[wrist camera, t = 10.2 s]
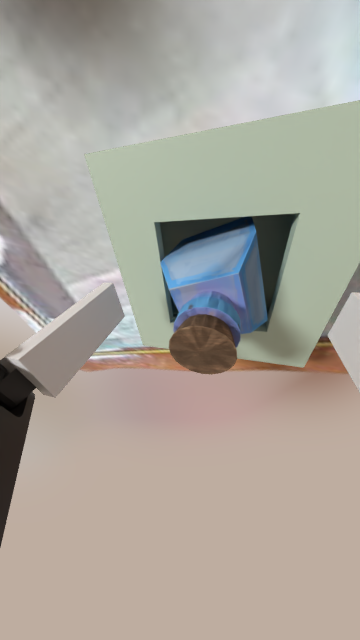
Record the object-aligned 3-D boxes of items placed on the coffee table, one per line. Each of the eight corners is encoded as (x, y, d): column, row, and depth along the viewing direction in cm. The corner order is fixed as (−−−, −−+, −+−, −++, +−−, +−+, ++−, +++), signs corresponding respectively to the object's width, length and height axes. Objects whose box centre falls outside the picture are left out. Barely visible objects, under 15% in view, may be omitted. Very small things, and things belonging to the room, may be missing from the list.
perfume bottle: (201, 294, 20) (168, 389, 11) (182, 239, 17) (114, 309, 8) (260, 282, 17) (282, 393, 8) (250, 214, 14) (269, 274, 5)
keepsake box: (131, 162, 15) (84, 154, 10) (364, 123, 11) (456, 81, 6) (161, 314, 24) (143, 345, 20) (289, 325, 20) (303, 367, 16)
